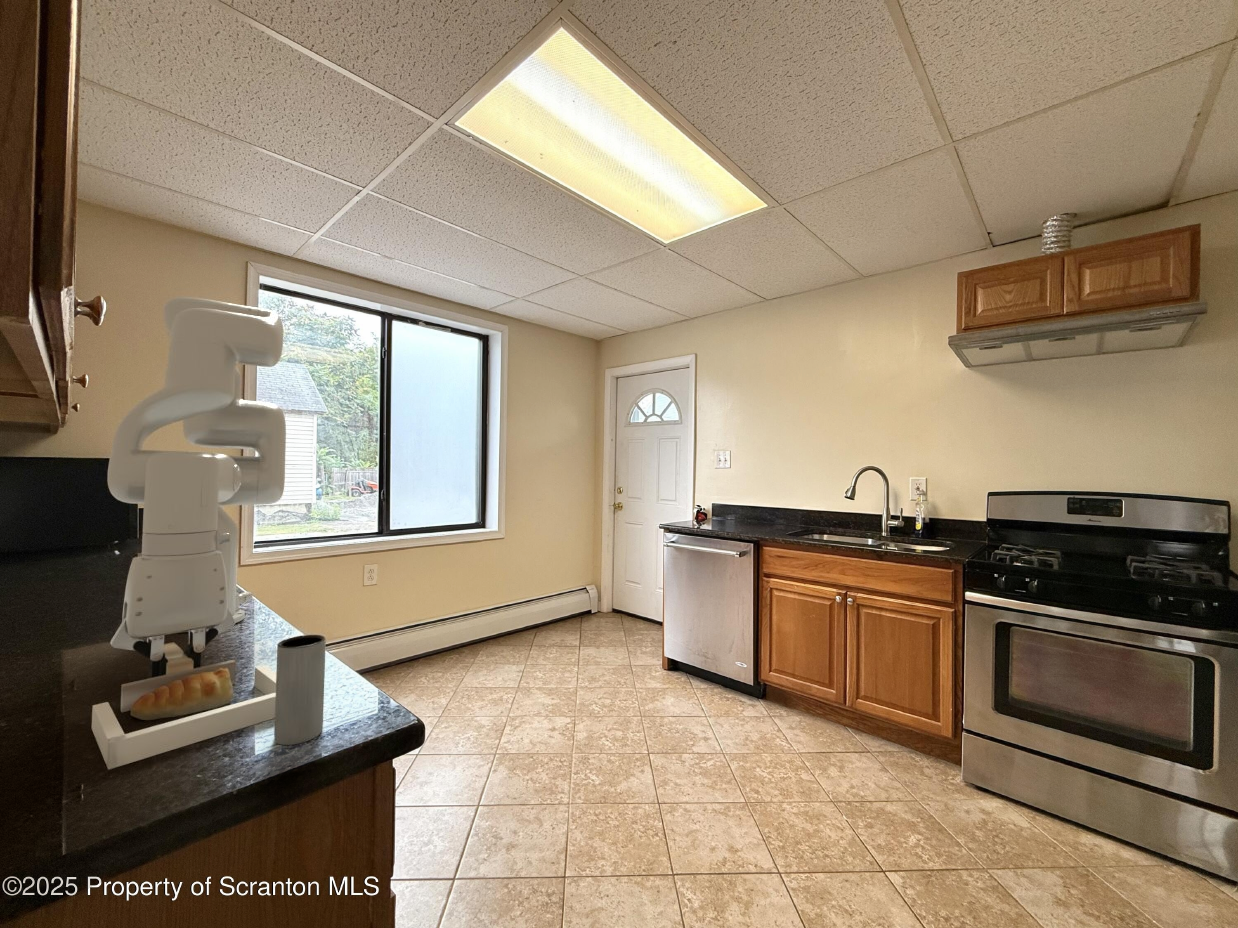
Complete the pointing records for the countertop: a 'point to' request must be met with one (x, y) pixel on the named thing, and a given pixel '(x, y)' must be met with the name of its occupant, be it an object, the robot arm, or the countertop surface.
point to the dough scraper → (169, 675)
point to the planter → (299, 689)
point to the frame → (181, 725)
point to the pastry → (186, 696)
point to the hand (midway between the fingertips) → (174, 683)
